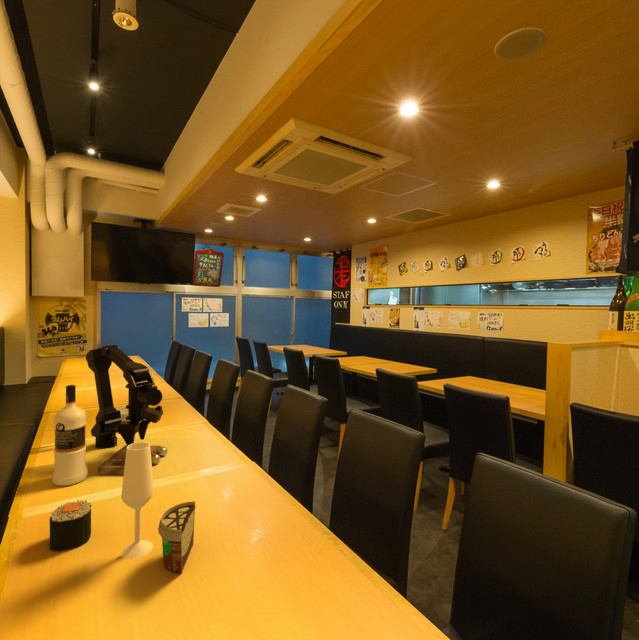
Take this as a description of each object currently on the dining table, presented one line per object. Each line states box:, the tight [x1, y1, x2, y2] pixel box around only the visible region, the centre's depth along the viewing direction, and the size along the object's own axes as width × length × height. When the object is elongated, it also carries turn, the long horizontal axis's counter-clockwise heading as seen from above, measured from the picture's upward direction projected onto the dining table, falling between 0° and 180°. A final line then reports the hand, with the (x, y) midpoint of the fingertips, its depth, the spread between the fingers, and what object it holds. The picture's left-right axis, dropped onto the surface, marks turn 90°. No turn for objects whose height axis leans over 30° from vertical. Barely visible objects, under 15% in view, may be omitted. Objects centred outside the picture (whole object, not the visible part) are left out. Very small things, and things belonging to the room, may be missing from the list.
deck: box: [97, 444, 162, 476], centre depth 130 cm, size 13×19×4 cm
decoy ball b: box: [151, 454, 161, 465], centre depth 129 cm, size 3×3×3 cm
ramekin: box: [115, 406, 130, 422], centre depth 170 cm, size 13×13×7 cm
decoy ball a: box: [158, 446, 169, 457], centre depth 136 cm, size 3×3×3 cm
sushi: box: [49, 499, 93, 552], centre depth 87 cm, size 8×8×8 cm
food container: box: [157, 501, 196, 575], centre depth 81 cm, size 12×6×10 cm, turn 5°
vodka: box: [51, 384, 89, 487], centre depth 115 cm, size 9×9×30 cm
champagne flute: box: [120, 441, 155, 560], centre depth 84 cm, size 7×7×24 cm
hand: (136, 444), depth 134 cm, fingers open, 9 cm apart
